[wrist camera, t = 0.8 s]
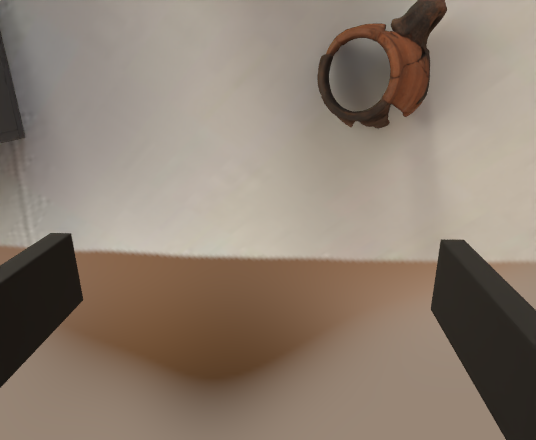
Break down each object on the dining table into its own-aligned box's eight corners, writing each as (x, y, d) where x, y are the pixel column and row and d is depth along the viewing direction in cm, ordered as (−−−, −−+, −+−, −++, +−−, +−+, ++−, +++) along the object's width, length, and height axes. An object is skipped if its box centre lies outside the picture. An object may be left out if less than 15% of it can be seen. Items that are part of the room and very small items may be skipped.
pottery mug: (398, 143, 41) (368, 154, 34) (328, 90, 43) (288, 90, 37) (488, 26, 34) (471, 12, 27) (398, -28, 37) (364, -53, 30)
